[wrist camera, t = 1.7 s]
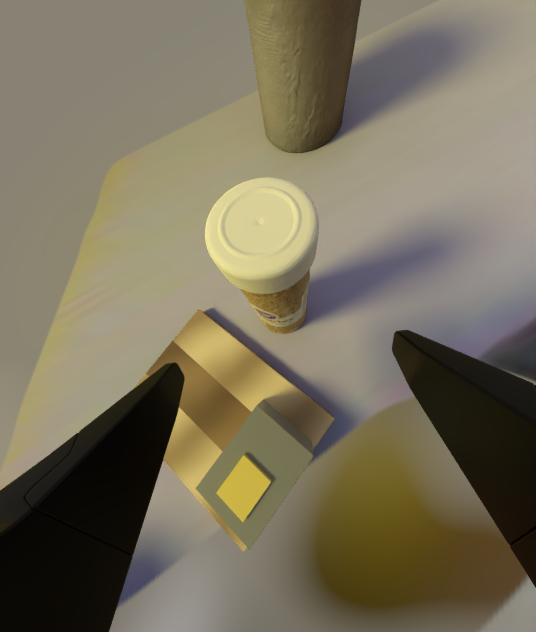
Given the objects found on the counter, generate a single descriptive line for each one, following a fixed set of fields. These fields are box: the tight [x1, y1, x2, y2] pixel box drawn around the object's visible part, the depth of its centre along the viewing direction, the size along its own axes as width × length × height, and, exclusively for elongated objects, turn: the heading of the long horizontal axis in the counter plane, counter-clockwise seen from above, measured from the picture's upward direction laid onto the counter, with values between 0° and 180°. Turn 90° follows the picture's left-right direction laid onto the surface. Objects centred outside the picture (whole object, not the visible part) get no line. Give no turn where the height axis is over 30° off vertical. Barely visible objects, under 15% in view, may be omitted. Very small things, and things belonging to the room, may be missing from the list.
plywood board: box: [135, 309, 334, 551], centre depth 19 cm, size 16×12×1 cm
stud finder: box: [196, 399, 314, 549], centre depth 15 cm, size 5×7×3 cm
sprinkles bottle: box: [205, 177, 319, 334], centre depth 14 cm, size 5×5×14 cm
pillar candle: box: [245, 0, 361, 153], centre depth 19 cm, size 10×10×15 cm
